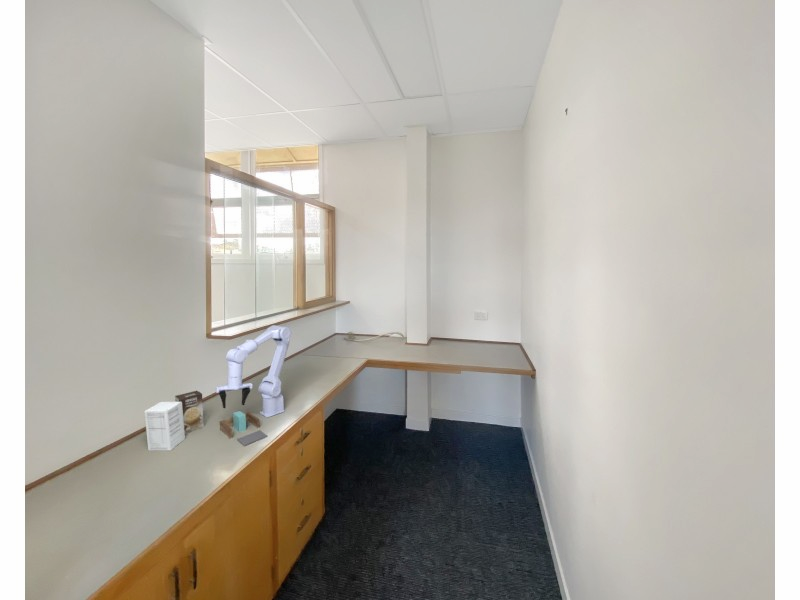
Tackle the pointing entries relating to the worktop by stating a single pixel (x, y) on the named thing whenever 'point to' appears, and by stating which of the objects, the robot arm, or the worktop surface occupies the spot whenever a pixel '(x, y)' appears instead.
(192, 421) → the coffee box
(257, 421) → the walnut cubby
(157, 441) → the supplement box
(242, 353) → the robot arm
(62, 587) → the worktop surface
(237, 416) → the teal blank
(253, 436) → the charcoal mat
